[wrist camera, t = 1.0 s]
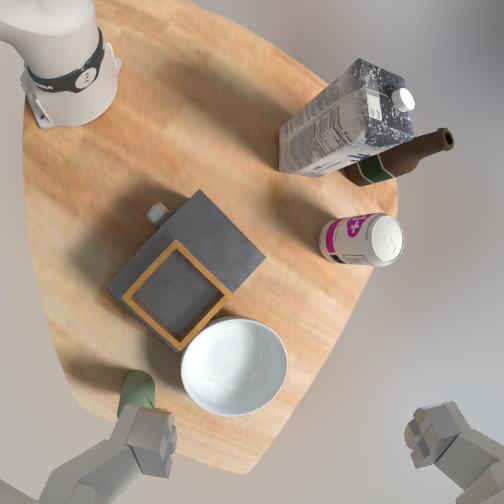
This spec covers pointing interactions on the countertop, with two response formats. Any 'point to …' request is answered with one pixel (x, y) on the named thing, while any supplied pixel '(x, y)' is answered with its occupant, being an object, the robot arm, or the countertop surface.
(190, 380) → the cereal bowl
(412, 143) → the beer bottle
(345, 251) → the supplement can
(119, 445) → the robot arm
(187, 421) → the countertop surface
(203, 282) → the box
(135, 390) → the oil can
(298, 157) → the juice carton
